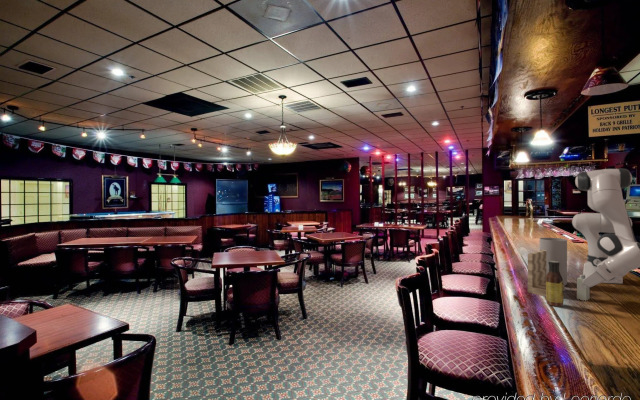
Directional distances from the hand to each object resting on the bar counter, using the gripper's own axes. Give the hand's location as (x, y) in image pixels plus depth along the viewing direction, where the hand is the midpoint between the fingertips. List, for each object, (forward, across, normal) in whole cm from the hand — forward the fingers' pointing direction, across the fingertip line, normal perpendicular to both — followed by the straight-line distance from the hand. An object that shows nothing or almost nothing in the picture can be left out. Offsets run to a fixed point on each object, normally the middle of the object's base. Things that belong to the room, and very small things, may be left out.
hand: (582, 286), depth 150 cm
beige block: (+4, 0, +4) cm, 6 cm away
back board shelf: (+15, +1, -6) cm, 16 cm away
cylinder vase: (+18, -20, -9) cm, 28 cm away
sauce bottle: (+8, +20, +1) cm, 21 cm away
